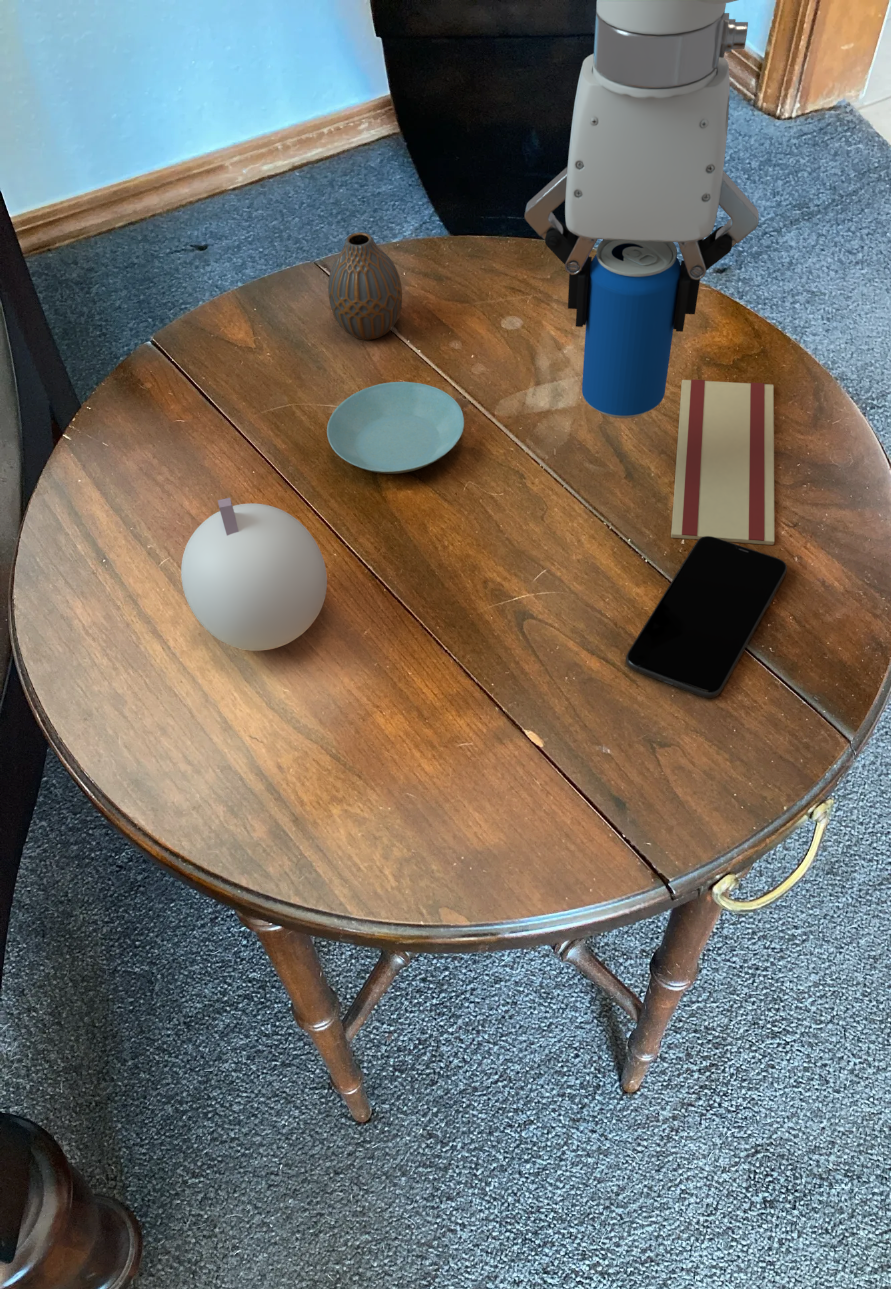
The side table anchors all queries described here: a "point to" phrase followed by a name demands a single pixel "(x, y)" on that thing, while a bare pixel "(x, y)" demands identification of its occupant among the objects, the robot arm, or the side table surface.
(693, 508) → the tea towel
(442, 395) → the saucer
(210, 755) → the side table surface
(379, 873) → the side table surface
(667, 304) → the beverage can
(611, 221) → the robot arm
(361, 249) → the vase
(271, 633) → the ornament
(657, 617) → the smartphone
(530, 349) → the side table surface
